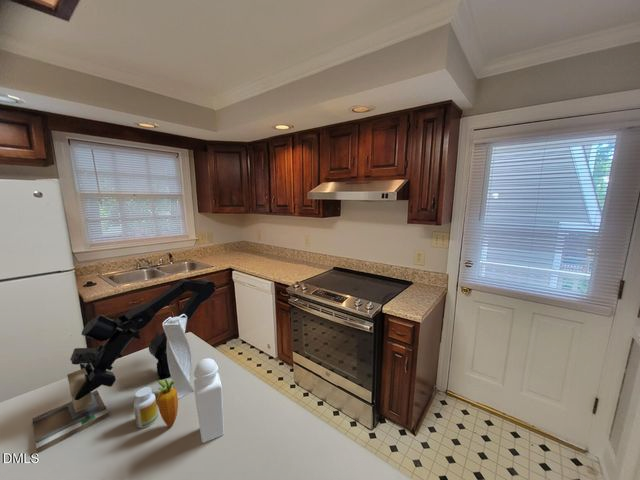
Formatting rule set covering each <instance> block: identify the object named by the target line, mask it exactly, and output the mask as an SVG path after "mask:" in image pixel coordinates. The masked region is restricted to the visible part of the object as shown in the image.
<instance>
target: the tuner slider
mask: <svg viewBox="0 0 640 480" xmlns="http://www.w3.org/2000/svg"><path fill="white" fill-rule="evenodd" d="M85 374H87V372H86V370H85V368H83V369H81V368H80V369H79V370H75V371H74V372H71V373H70V372H69V373H68V374H66V377H67V382H68V387H69V391H70V397H71V401H72V403H71V404H69V405H68V409H69V412H70V415H71V418H72V421H75V420H77V419H79V418H81V417H83V416H85V417H86V420H88V419H90V416H89V413H91V412H93V411H95V410H97V409H99V406H98V404H97V402H96V399H95V397H94V395H93V394H91V392H92V391H91V392H90V393H88V394H87V395H85V396H84V397H82V398H81V399H79V400H75V397H76V395H77V393H78V392H79V390H80V389H81V387H82V386H83V384H84V382H85V381H86V380H85ZM87 375H88V374H87Z"/></svg>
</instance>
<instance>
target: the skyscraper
mask: <svg viewBox="0 0 640 480" xmlns="http://www.w3.org/2000/svg"><path fill="white" fill-rule="evenodd" d="M181 316H185V317H186V318H180V317H181ZM186 323H187V316H186V315H185V314H182V315H180V316H179V317H176V316H173V317H172V316H169V317H168V318H166V319H165V320H164V321H163V322H162V328H163V332H165V334H166V337H167V361H168V367H169V371H170V375H171V377H170V379H171V381H172V380H174V383H173V385H172V388H174V389H175V390H176V391H177V396H178V400H179V399H181V398H182V397H185V396H187V395H188V394H190V393H193V392H195V388H194V386H192V385H191V381H190V376H191V370H192V351H191V346H190V345H191V344H190V342H189V339H188V336H187V335H186V328H187V324H188V323H187V324H186Z"/></svg>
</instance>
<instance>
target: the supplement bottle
mask: <svg viewBox="0 0 640 480" xmlns="http://www.w3.org/2000/svg"><path fill="white" fill-rule="evenodd" d="M152 390H153V389H152V387H150V386H145V387H143V388H140V389H139V390H137V391H136V392H135V393H134V395H135V396H134V397H135V400H134V402H133V410H134V416H135V417H134V418H135V424H136V426H137V428H139V429H144V428H147V427H150V426H151V425H153V424H155V423H156V421H157V420H158V418H159V413H158V404H157V397H156V395H155V393H153V391H152Z"/></svg>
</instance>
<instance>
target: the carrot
mask: <svg viewBox="0 0 640 480" xmlns="http://www.w3.org/2000/svg"><path fill="white" fill-rule="evenodd" d="M157 383H158V385H160V386H161V387H159V388H158V390H159V391H160V392H159V393H158V395H157V397H156V403H157V408H158V410H159V414H160V416H161V419H162V420H163V422H164V423H165V425H166V426H167V427H170V428H172V427H173V425H174V424H175V421H176V419H177V415H178V410H179V399H178V396H177V391H176V390H175V389H174V388H173V383H174V380H172V379H171V381H169V379H168V378H165V379H164V381H163V379H162V380H159V381H158V382H157Z"/></svg>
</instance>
